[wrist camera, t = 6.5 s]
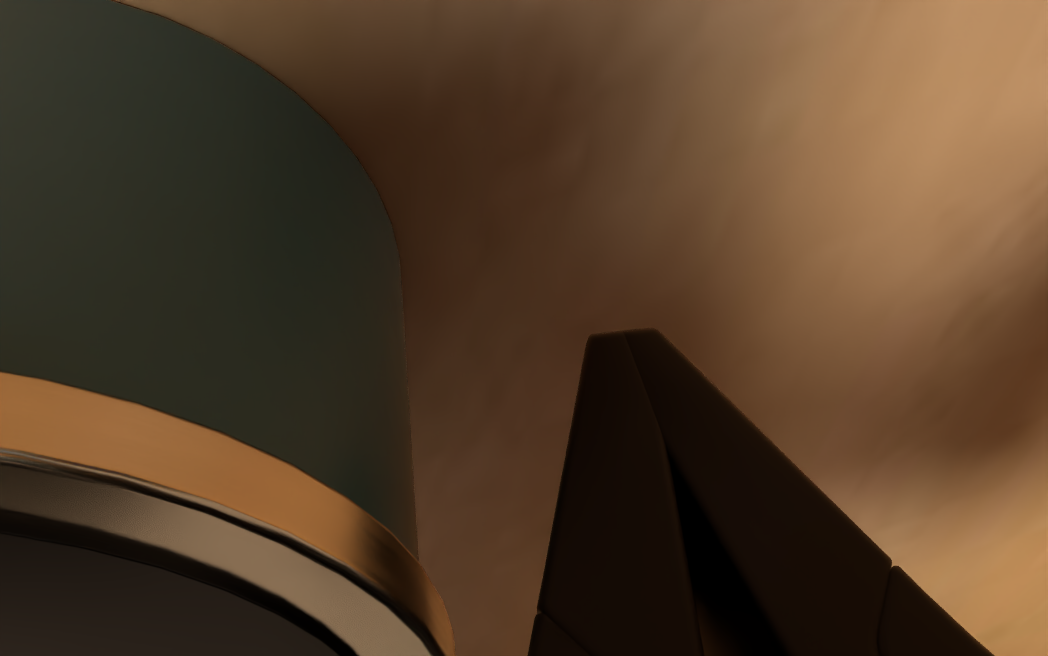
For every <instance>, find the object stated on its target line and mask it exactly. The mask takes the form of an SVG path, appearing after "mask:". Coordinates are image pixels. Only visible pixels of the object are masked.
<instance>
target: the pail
mask: <svg viewBox="0 0 1048 656" xmlns="http://www.w3.org/2000/svg"><path fill="white" fill-rule="evenodd" d="M0 656H456V654H455V643H454V633H453V630H452V627H451V624H450V621H449V617H448V614H447V611H446V608H445V605H444V602H443V600H442V599H441V597H440V595H439V594H438V592H437V590H436V589H435V587H434V585H433V584H432V582H431V580H430V579H429V577H428V575H427V574H426V572H425V571H424V569H423V567H422V566H421V564H420V563H419V557H418V541H417V525H416V508H415V492H414V476H413V460H412V444H411V428H410V412H409V396H408V380H407V364H406V347H405V331H404V315H403V299H402V283H401V271H400V259H399V252H398V248H397V244H396V240H395V236H394V232H393V228H392V225H391V221H390V219H389V217H388V215H387V212H386V210H385V208H384V205H383V203H382V201H381V198H380V196H379V194H378V191H377V190H376V188H375V186H374V185H373V183H372V181H371V180H370V178H369V177H368V175H367V173H366V172H365V170H364V169H363V167H362V165H361V164H360V162H359V161H358V159H357V157H356V156H355V155H354V154H353V153H352V151H351V150H350V149H349V148H348V147H347V145H346V144H345V143H344V142H343V141H342V139H341V138H340V137H339V136H338V135H337V133H336V132H335V131H334V130H333V128H332V127H331V126H330V125H329V124H328V123H327V122H326V121H325V120H324V119H323V118H322V117H321V116H319V115H318V114H317V113H316V112H315V111H314V110H313V109H312V108H311V107H310V106H309V105H308V104H307V103H306V102H305V101H303V100H302V99H301V98H300V97H299V96H298V95H297V94H296V93H295V92H293V91H292V90H291V89H289V88H288V87H287V86H285V85H284V84H283V83H281V82H280V81H278V80H277V79H276V78H274V77H273V76H272V75H270V74H269V73H268V72H266V71H265V70H264V69H262V68H261V67H259V66H258V65H257V64H255V63H253V62H252V61H250V60H248V59H246V58H245V57H243V56H241V55H239V54H238V53H236V52H234V51H233V50H231V49H229V48H227V47H226V46H224V45H222V44H220V43H219V42H217V41H215V40H213V39H212V38H209V37H207V36H205V35H203V34H200V33H198V32H196V31H194V30H191V29H189V28H187V27H184V26H182V25H180V24H178V23H175V22H173V21H171V20H169V19H166V18H164V17H162V16H158V15H155V14H152V13H149V12H146V11H143V10H140V9H136V8H133V7H130V6H127V5H124V4H121V3H118V2H114V1H111V0H0Z"/></svg>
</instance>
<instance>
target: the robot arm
mask: <svg viewBox="0 0 1048 656" xmlns="http://www.w3.org/2000/svg"><path fill="white" fill-rule="evenodd" d="M891 566H892V560H891V559H890V557H889V556H887V555H886V554H885V553H884V552H883V551H882V550H881V549H880V548H879V547H878V546H877V545H876V544H875V543H874V542H873V541H872V540H871V539H870V538H869V537H868V536H867V535H866V534H865V533H864V532H863V531H862V530H861V529H860V528H859V527H858V526H857V525H856V524H855V523H854V522H853V521H852V520H851V519H850V518H849V517H848V516H847V515H846V514H845V513H844V512H843V511H842V510H841V509H840V508H839V507H838V506H837V505H836V504H835V503H834V502H833V501H832V500H831V499H829V498H828V497H827V496H826V495H825V494H824V493H823V492H822V491H821V490H820V489H819V488H818V487H817V486H816V485H815V484H814V483H813V482H812V481H811V480H810V479H809V478H808V477H807V476H806V475H805V474H804V473H803V472H802V471H801V470H800V469H799V468H798V467H797V466H796V465H795V464H794V463H793V462H792V461H791V460H790V459H789V458H788V457H787V456H786V455H785V454H784V453H783V452H782V451H781V450H780V449H779V448H778V447H777V446H776V445H775V444H774V443H772V442H771V441H770V440H769V439H768V438H767V437H766V436H765V435H764V434H763V433H762V432H761V431H760V430H759V429H758V428H757V427H756V426H755V425H754V424H753V423H752V422H751V421H750V420H749V419H748V418H747V417H746V416H745V415H744V414H743V413H742V412H741V411H740V410H739V409H738V408H737V407H736V406H735V405H734V404H733V403H732V402H731V401H730V400H729V399H728V398H727V397H726V396H725V395H724V394H723V393H722V392H721V391H720V390H719V389H718V388H717V387H715V386H714V385H713V384H712V383H711V382H710V381H709V380H708V379H707V378H706V377H705V376H704V375H703V374H702V373H701V372H700V371H699V370H698V369H697V368H696V367H695V366H694V365H693V364H692V363H691V362H690V361H689V360H688V359H687V358H686V357H685V356H684V355H683V354H682V353H681V352H680V351H679V350H678V349H677V348H676V347H675V346H674V345H673V344H672V343H671V342H670V341H669V340H668V339H667V338H666V337H665V336H664V335H663V334H662V333H660V332H659V331H658V330H656V329H654V328H644V329H635V330H626V331H617V332H608V333H599V334H592V335H590V336H589V337H588V339H587V343H586V347H585V353H584V358H583V363H582V369H581V374H580V380H579V385H578V390H577V396H576V401H575V406H574V412H573V417H572V423H571V428H570V433H569V439H568V444H567V449H566V455H565V460H564V465H563V471H562V476H561V482H560V487H559V492H558V498H557V503H556V508H555V514H554V519H553V524H552V530H551V535H550V541H549V546H548V551H547V557H546V562H545V567H544V573H543V578H542V583H541V589H540V594H539V600H538V605H537V614H536V616H535V618H534V624H533V629H532V635H531V640H530V645H529V651H528V656H994V655H993V654H992V653H991V652H990V651H989V650H987V649H986V648H985V647H984V646H983V645H982V644H980V643H979V642H978V641H977V640H976V639H975V638H973V637H972V636H971V635H970V634H969V633H968V632H967V631H966V630H965V629H964V628H963V627H962V626H961V625H960V624H958V623H957V622H956V621H955V620H954V619H953V618H952V617H951V616H950V615H949V614H948V613H947V612H946V611H945V610H944V609H942V608H941V607H940V606H939V605H938V604H937V603H936V602H935V601H934V600H933V599H932V598H931V597H930V596H929V595H928V594H926V593H925V592H924V591H923V590H922V589H921V588H920V587H919V586H918V585H917V584H916V583H915V582H914V581H913V580H912V579H911V578H910V577H909V576H908V575H907V574H906V573H905V572H904V571H903V570H902V569H901V568H900V567H899V566H893V567H892V568H891Z"/></svg>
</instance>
